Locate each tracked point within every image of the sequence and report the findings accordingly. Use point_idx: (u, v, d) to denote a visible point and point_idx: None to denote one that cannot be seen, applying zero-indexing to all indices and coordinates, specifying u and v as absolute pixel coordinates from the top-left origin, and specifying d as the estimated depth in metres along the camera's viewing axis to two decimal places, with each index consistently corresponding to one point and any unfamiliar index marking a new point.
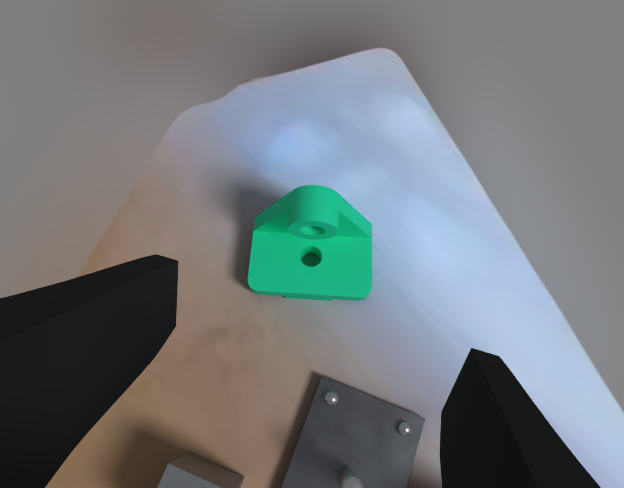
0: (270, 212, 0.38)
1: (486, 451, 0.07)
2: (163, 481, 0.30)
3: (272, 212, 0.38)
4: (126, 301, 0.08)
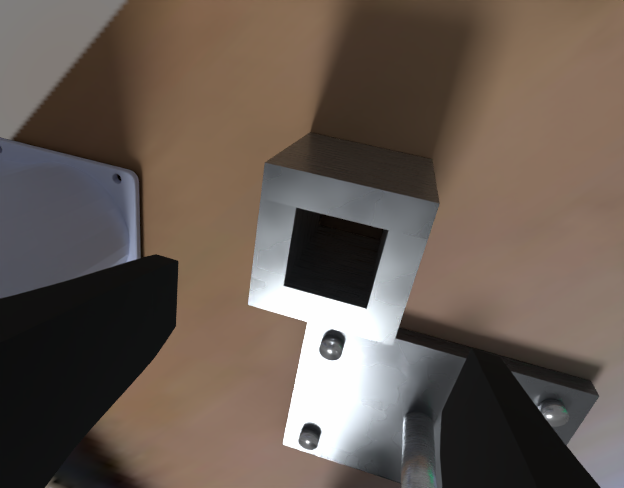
0: None
1: (486, 451, 0.07)
2: (396, 201, 0.12)
3: None
4: (127, 301, 0.08)
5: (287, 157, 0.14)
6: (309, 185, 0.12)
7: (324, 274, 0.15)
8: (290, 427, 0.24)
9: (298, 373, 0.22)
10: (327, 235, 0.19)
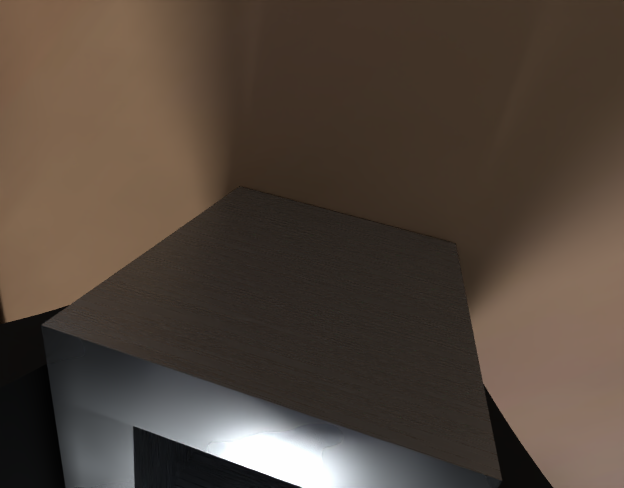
0: None
1: None
2: (379, 455, 0.04)
3: None
4: None
5: (131, 286, 0.06)
6: (155, 387, 0.05)
7: None
8: None
9: None
10: None
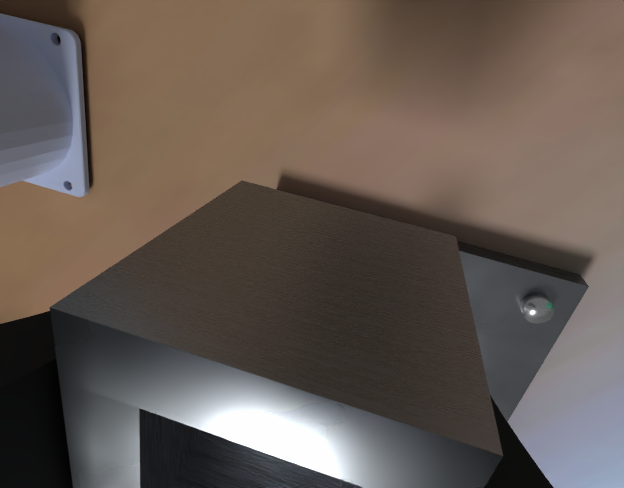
0: None
1: None
2: (383, 433, 0.04)
3: None
4: None
5: (137, 272, 0.06)
6: (162, 368, 0.05)
7: (244, 478, 0.08)
8: None
9: None
10: None
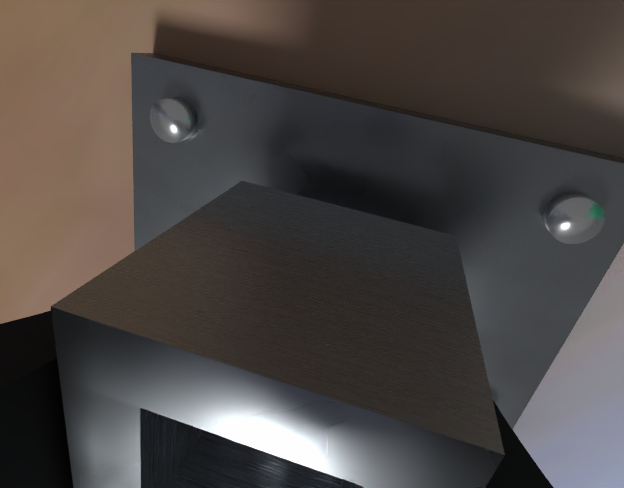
0: None
1: None
2: (385, 432, 0.04)
3: None
4: None
5: (138, 272, 0.06)
6: (163, 367, 0.05)
7: (244, 478, 0.08)
8: None
9: (135, 188, 0.13)
10: None
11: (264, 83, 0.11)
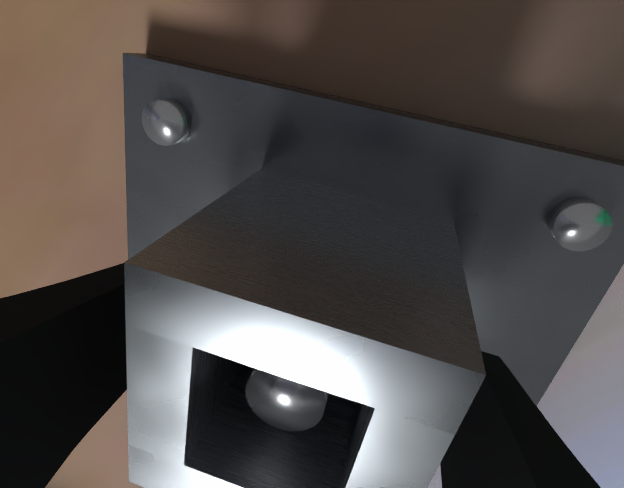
0: None
1: (486, 451, 0.07)
2: (392, 359, 0.06)
3: None
4: None
5: (187, 239, 0.07)
6: (214, 312, 0.06)
7: (267, 423, 0.09)
8: None
9: (128, 192, 0.13)
10: None
11: (260, 84, 0.10)
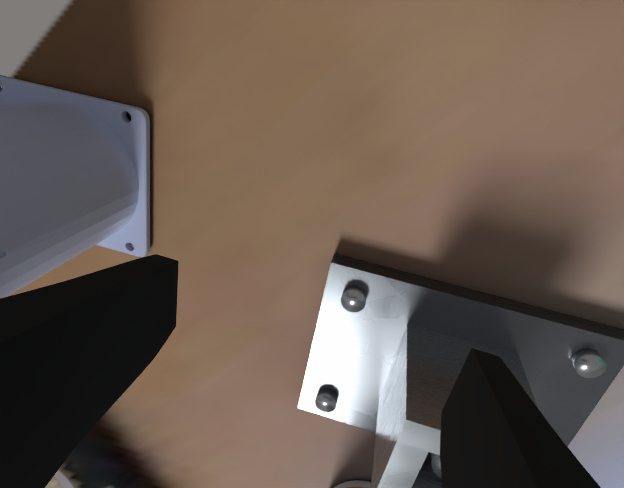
0: None
1: (486, 451, 0.07)
2: None
3: None
4: (127, 301, 0.08)
5: (416, 399, 0.16)
6: None
7: (432, 475, 0.17)
8: (306, 389, 0.23)
9: (317, 329, 0.21)
10: None
11: (412, 284, 0.19)
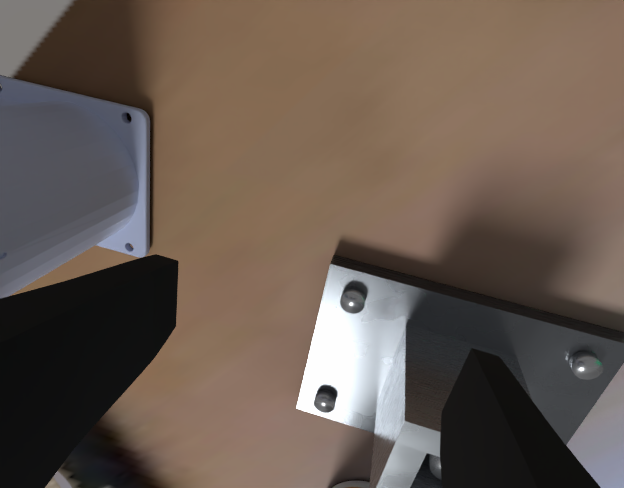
0: None
1: (486, 451, 0.07)
2: None
3: None
4: (126, 301, 0.08)
5: (414, 400, 0.16)
6: None
7: (430, 476, 0.18)
8: (305, 390, 0.23)
9: (316, 330, 0.21)
10: None
11: (411, 286, 0.19)
